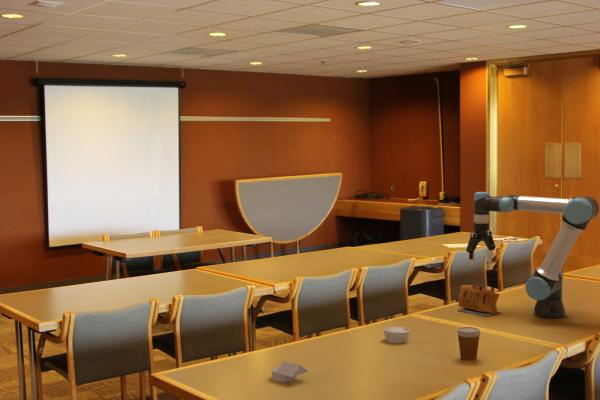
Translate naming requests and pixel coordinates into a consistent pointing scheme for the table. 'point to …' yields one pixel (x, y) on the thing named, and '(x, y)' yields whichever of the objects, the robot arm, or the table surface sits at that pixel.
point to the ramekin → (396, 334)
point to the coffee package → (478, 299)
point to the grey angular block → (287, 372)
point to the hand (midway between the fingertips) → (480, 264)
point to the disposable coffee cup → (468, 342)
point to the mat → (476, 312)
